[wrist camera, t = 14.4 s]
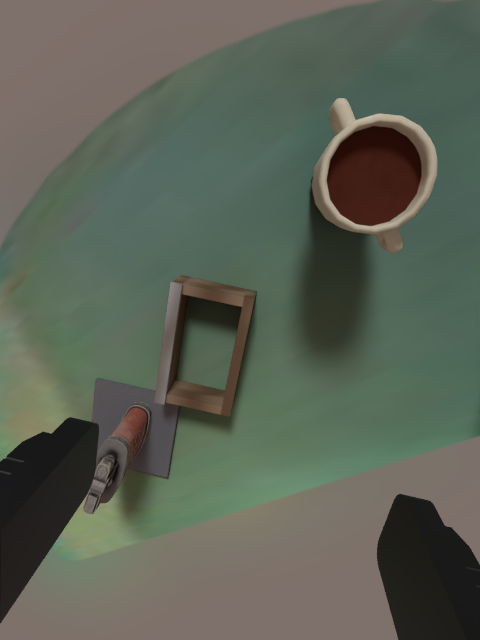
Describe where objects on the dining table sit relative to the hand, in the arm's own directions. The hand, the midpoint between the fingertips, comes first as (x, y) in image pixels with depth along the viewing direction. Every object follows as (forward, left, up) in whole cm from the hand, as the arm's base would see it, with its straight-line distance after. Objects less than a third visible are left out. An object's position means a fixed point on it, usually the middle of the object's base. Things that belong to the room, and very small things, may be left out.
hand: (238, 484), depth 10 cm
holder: (+5, +8, -30) cm, 32 cm away
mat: (+12, +21, -30) cm, 39 cm away
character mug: (-5, -10, -30) cm, 32 cm away
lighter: (+12, +21, -30) cm, 38 cm away
